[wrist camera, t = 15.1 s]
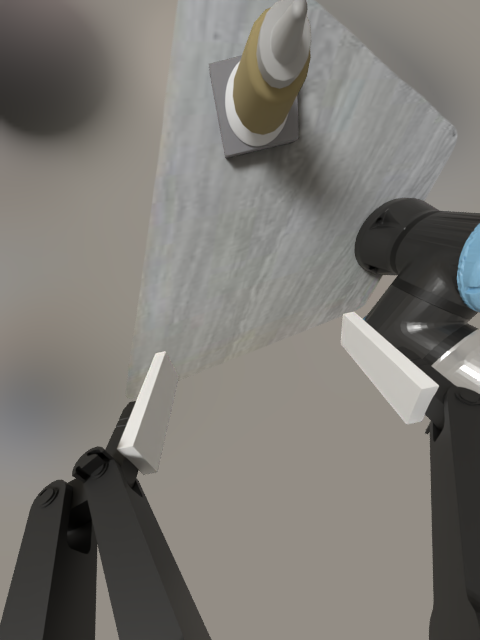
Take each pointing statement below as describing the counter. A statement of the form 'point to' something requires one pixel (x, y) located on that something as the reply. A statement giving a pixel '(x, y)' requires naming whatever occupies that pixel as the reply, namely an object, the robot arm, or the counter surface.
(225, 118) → the white dome on base
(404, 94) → the counter surface
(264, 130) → the squeeze bottle
